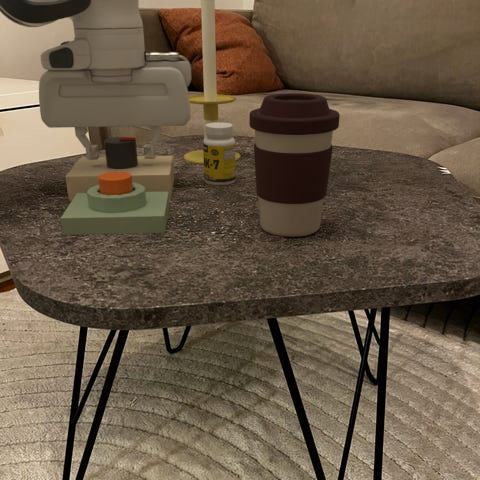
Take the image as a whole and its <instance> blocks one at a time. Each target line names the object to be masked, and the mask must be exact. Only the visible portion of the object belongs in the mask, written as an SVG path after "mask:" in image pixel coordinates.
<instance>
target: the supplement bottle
mask: <svg viewBox="0 0 480 480" xmlns="http://www.w3.org/2000/svg"><path fill="white" fill-rule="evenodd" d="M233 127H234V126H233V124H232V123H229V122H218V123H209V124H206V125H205V133H206V134H205V135H206V136H207V137H206V138H205V139H203V141H202V150H203V154H204V164H203V179H204V183H205V184H207V185H211V186H229V185H232V184H234V183H235V182H236V161H235V152H236V139H235V138H234V137H233V134H234V128H233Z"/></svg>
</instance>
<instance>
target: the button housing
mask: <svg viewBox="0 0 480 480" xmlns="http://www.w3.org/2000/svg"><path fill="white" fill-rule="evenodd" d="M132 184H133V192H130V193H127V194H122V195H105V194H100V188H99V185H96V186H94V187H91V188H89V190H88V191H87V193H77V194H76V195H75V197H74V198H73V200H72V201H70V203H69V205H68V206H67V207H66V209H65V210H64V211H63V214H62V215H61V216H60V223H61V231H62V235H63V236H80V235H81V236H83V235H86V236H87V235H123V234H124V235H125V234H127V235H128V234H165V233H166V231H167V226H168V225H167V224H168V220H169V214H170V209H171V208H170V206H171V205H170V199H169V192H168V191H166V192H146V189H145V187H144V186H142V185H140V184H138V183H132Z"/></svg>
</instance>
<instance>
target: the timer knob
mask: <svg viewBox="0 0 480 480" xmlns="http://www.w3.org/2000/svg"><path fill="white" fill-rule="evenodd" d="M103 144H104V153H105V157H106V163H107V167H109V168H113V169H126V168H132V167H135V166H137V165H138V159H137V156H138V149H137V148H138V147H137V139H136V137H134V136H133V137H131V136H116V137H109V138H106V139H104V140H103Z"/></svg>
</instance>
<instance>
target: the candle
mask: <svg viewBox="0 0 480 480" xmlns="http://www.w3.org/2000/svg"><path fill="white" fill-rule="evenodd" d="M215 1H216V0H200V11H201V12H200V13H201V14H200V15H201V41H202V42H201V43H202V44H201V45H202V71H203V72H202V73H203V74H202V75H203V76H202V77H203V94H194V95H189V101H190V104H192V105H203V106H202V108H203V109H202V110H203V131H204V132H203V136H204V137H203V138H204V139H205V138H206V137H207V136H206V135H205V134H206V133H205V125H206V124H209V123H219V105H225V104H231V103H234V102H235V101H237V98H236V96H233V95H230V94H218V93H217V89H218V88H217V51H216V50H217V47H216V45H217V44H216V6H215V4H216V3H215ZM204 139H203V140H204ZM183 159H184V161H186V162H189V163H192V164H193V163H194V164H198V165H204V154H203V149H196V150H191V151H188V152H187V153H185V154H183ZM240 159H241V154H240V153H239V152H237V151H235V162H236V161H239V160H240Z"/></svg>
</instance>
